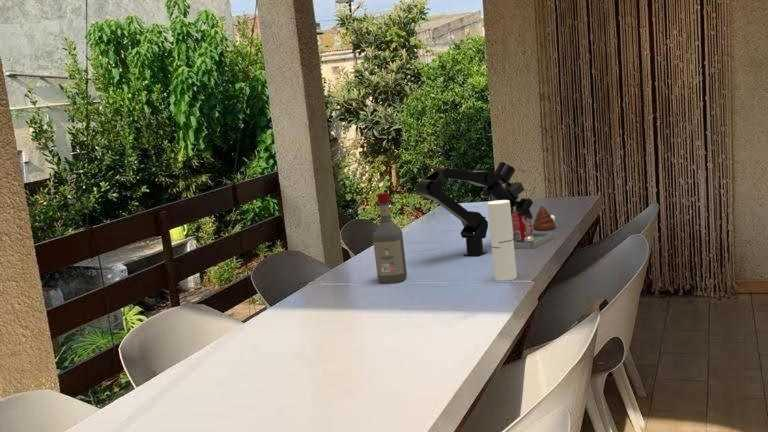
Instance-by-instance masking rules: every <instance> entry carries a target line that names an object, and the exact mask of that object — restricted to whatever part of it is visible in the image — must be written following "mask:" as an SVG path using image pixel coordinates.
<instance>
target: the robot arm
mask: <svg viewBox="0 0 768 432" xmlns="http://www.w3.org/2000/svg"><path fill="white" fill-rule="evenodd" d="M515 173H516V169H515V167H513V166H512V165H510V164H508V163H506V162H504V161H500V162H499V163H498V165H497V168H495V171H494V172H493V171H491V170H470V171H469V170H462V169H457V168H456V169H455V168H449V167H443V166H441V167H438V168H436V169H435V170H434V171H433V172H431V173H430V174H428V175H427V176H425V177H424V178H423V179H420V180H419V181H418V182H417V184H416V192H417V194H418V195H420V196H421V197H424V198H426V199H429V200H431V201H433V202H435V203H436V204H438V205H439V206H441V207H442V208H443V209H445V210H446V211H448V212H449V213H450V214H451V215H453V216H454V217H456V218H457V219H458V220H459V221H460V222H461V223H462V226H463V228H462V230H461V231H460V232H459V233H460V237H461V238H462V239H465V242H466V243H465V245H466V253H463V256H464V257H466V256H467V257H470V256H471V257H480V256H483V255H484V254H486V253H488V251H487V250H484V244H483V239H486V238H487V233H488V228H489V220H487V216H483V215H482V214H481V213H480V212H479V211H473V210H467V209H466V208H465V207H463V206H462V204H460V203H459V202H457V201H456V200H455V199H453V198H452V197H450V196H449V195H448V194H446V192H445V191H444V186H445V184H446V182H447V180H454V181H455V180H456V181H463V182H468V183H470V184H471V185H473V186H474V185H475V186H477V187H484V188H483V189H482V197H488V198H489V197H492V198H493V201H497V200H509V201H510V208H511V217H512V213H513V210H514V208H515V209H516V212H517V213H519V214H518V215H521V216H523V217H526V218H528V219H531V220H532V219H533V218H534V217H533V214H532V212H531V210H530V209H531V207H532V205H533V203H534V201H533V199H531V198H527V197H521V199H520V200H518V199H519V198H520V197H519V195H520V194H521V193H523V192H524V191H525V188H524V185H523V184H522V182H519V181H518V182H516V181H515V182H510V181H511V179H512V178H513V176H514V174H515Z"/></svg>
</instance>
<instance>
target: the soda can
mask: <svg viewBox="0 0 768 432" xmlns="http://www.w3.org/2000/svg"><path fill="white" fill-rule="evenodd" d="M518 214H519V213H517V212H516V208H515V209H514V210H513V213H512V216H511V219H512V230H513V234H514V237H515V240H517V241H524V239H525V237H526V236H528V235H530V236H532V237H533V234H532V233H533V224H532V219H528V218H526V217H523V216H521V215H518Z"/></svg>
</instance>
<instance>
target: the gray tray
mask: <svg viewBox="0 0 768 432" xmlns="http://www.w3.org/2000/svg"><path fill="white" fill-rule="evenodd" d="M532 234H533V238H534V242H533V243H525V241H517V240H515V237H514V233H513V241H514V249H525V250H527V249H529V250H533V249H535V248H538V247H539V246H541V245H543V244H545V243H547V242H549V241H551V240H553V239H555V235H554V234H555V233H554V232H532Z"/></svg>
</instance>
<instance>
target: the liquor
mask: <svg viewBox="0 0 768 432" xmlns="http://www.w3.org/2000/svg"><path fill="white" fill-rule="evenodd" d="M389 199H390V195H389V193H388V192H380V193H377V201H378V202H377V203H378V206H379V215H380V220H379V221H380V222H379V224H378V226H377V227H376V229H375V231H374V232H373V233H372V240H373V241H372V243H373V251H374V257H375V266H376V267H375V268H376V274H377V281H378V282H379V284H383V285H385V284H399V283H403V282H404V281H405V280H406V279H407V277H408V272H407V270H408V269H407V265H406V264H407V263H406V253H405V246H404V245H405V244H404V238H403V237H404V236H403V231H402V228H401V227H399V226H398V225H397V224H396V223H395V222H394V221H393V220H392V217H391V211H390V200H389Z"/></svg>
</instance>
